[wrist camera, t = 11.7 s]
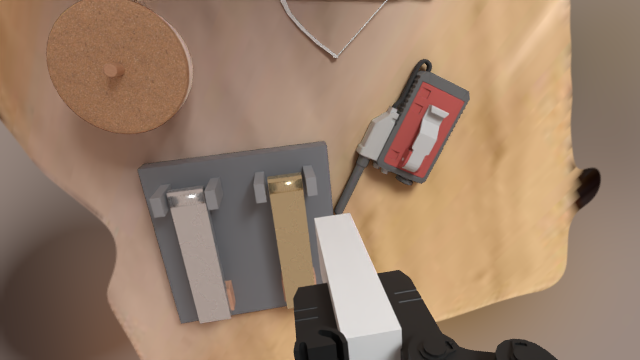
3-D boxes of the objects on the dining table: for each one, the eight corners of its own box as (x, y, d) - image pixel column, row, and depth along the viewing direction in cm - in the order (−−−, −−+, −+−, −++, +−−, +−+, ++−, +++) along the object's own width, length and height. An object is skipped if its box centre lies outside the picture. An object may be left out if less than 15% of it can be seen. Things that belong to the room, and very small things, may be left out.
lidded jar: (177, 136, 40) (150, 161, 31) (74, 86, 37) (12, 97, 28) (221, 45, 37) (205, 43, 28) (114, -17, 34) (60, -40, 25)
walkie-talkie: (402, 49, 40) (327, 207, 45) (417, 49, 36) (332, 223, 41) (467, 82, 42) (388, 229, 47) (488, 85, 38) (400, 246, 43)
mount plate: (143, 164, 40) (123, 182, 34) (324, 141, 42) (332, 154, 36) (184, 312, 47) (172, 348, 41) (338, 287, 49) (347, 318, 43)
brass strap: (267, 175, 38) (267, 180, 37) (300, 171, 39) (301, 176, 37) (287, 301, 44) (287, 310, 42) (316, 297, 44) (317, 305, 43)
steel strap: (169, 188, 38) (165, 194, 36) (204, 184, 38) (201, 189, 36) (201, 315, 43) (199, 325, 41) (232, 310, 43) (230, 320, 42)
